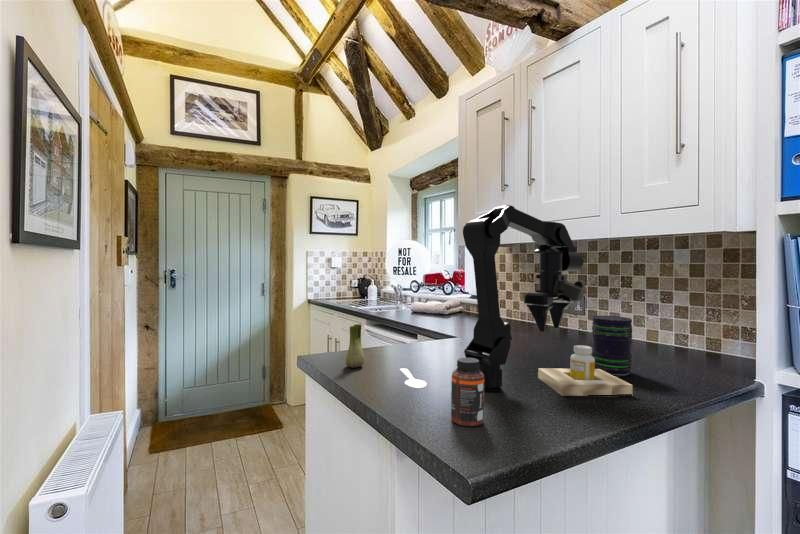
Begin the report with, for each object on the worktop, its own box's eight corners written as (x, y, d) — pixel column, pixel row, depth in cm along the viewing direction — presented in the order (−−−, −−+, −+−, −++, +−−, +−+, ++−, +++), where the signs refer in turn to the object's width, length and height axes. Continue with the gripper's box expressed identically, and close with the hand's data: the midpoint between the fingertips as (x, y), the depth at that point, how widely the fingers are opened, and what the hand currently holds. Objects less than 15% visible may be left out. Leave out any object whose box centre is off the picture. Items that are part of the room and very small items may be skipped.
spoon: (412, 369, 109) (412, 367, 109) (431, 389, 92) (431, 386, 92) (393, 370, 108) (393, 368, 108) (408, 390, 90) (408, 388, 90)
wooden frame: (561, 395, 88) (561, 383, 88) (538, 377, 102) (538, 367, 102) (632, 396, 88) (632, 384, 88) (599, 378, 102) (599, 368, 102)
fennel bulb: (358, 363, 113) (359, 322, 113) (368, 367, 110) (369, 324, 110) (341, 367, 109) (342, 323, 109) (351, 370, 106) (352, 326, 106)
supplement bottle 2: (575, 389, 92) (576, 348, 92) (566, 383, 97) (566, 344, 97) (598, 390, 92) (599, 349, 92) (587, 383, 97) (588, 344, 97)
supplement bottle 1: (490, 426, 70) (491, 362, 70) (459, 429, 68) (460, 364, 68) (474, 414, 76) (475, 355, 76) (445, 416, 74) (446, 356, 74)
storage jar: (588, 372, 108) (589, 318, 108) (594, 365, 116) (594, 314, 116) (630, 378, 102) (631, 321, 102) (633, 370, 110) (634, 317, 110)
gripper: (568, 271, 92) (566, 338, 92) (594, 271, 106) (593, 329, 106) (523, 270, 100) (522, 332, 100) (553, 271, 113) (552, 325, 113)
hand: (549, 329), depth 105 cm, fingers open, 9 cm apart
